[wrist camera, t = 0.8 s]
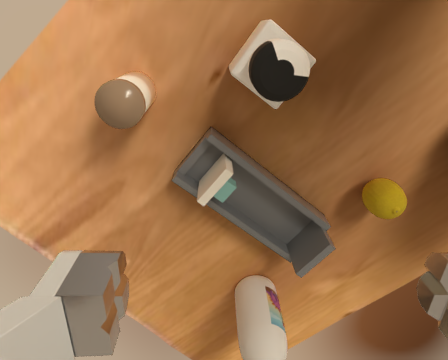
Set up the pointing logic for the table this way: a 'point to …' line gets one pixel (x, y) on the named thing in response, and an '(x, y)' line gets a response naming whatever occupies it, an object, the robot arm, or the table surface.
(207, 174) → the pusher
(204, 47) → the table surface
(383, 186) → the lemon
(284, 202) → the lane
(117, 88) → the jar
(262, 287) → the milk bottle
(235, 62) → the medicine bottle
